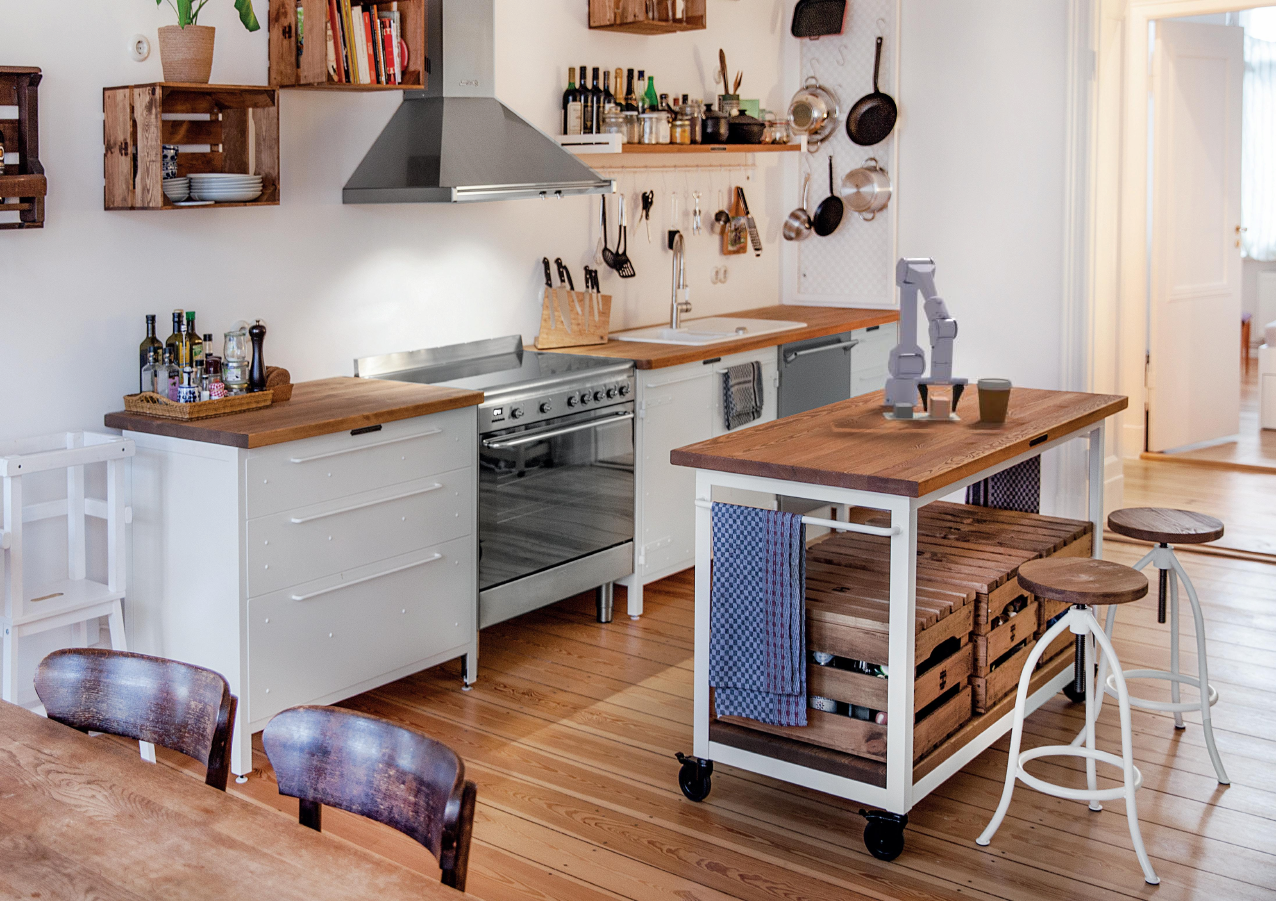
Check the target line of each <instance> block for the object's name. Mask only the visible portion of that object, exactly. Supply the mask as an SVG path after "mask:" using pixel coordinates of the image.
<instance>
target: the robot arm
mask: <svg viewBox="0 0 1276 901" xmlns="http://www.w3.org/2000/svg"><path fill="white" fill-rule="evenodd" d="M936 270H937V269H936V262H935V261H934V259H933V258H932V257H915V258H913V257H911V258H910V257H900V258H899V259H898V261H897V264H896V266H895V286H897V287H898V288H899V289H900V290H899V291H900V292H899V343H898V344H897V345H896V346H895V347H893V348H892V349H891V350H890V352H889V358H888V362H887V369H888V373H889V374H890V376H889V377H888V378H887V379H886V382H885V383H884V384H885V385H884V402H883V403H884V404H882V406H894V403H911V405H912V406H913V407H915V406H916V407H918V406H919V407H922V408H923V413H928V396H929V395H928V394H929V387H928V386H952V401H951V413H956V410H957V406H958V403H959V401H960V398H961V396H962V395H963V393H964V390H965V387H968V386H969V378H967V377H952V376H953V374H952V372H953V352H954V351H953V350H954V340H955V339H956V338H957V335H958V330H959V329H958V322H957V320H956V319H955V318H954V317H953V316H952V315H950V314H949V312H948V309H947V307H946V303H945V301H944V299H943V298H941V297H939V295H938V292H937V289H936V284H935V281H934V279H935V273H936ZM918 291H920V293H921V295H922V297H923V300H924V304H923V309H924V312H925V315H926V318H927V321H928V324H929V325H928V337H929V345H930V346H931V351H930V352H931V353H930V357H931V358H930V376H929V377H928V376H927V377H922V376H924V373H925V372H926V370H927V361H926V356H925V350H924V349H923V348H922V347H920V346H919V345H918V341H917V340H918V294H919V292H918ZM919 394H920V397H921V402H922V404H919Z"/></svg>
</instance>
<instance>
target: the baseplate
mask: <svg viewBox="0 0 1276 901" xmlns="http://www.w3.org/2000/svg"><path fill="white" fill-rule="evenodd" d="M882 415H883V416H884V418H885V419H886V420H887V421H888V420H892V421H898V420H899V421H900V420H902V421H904V420H905V421H907V420H908V421H909V420H910V421H962V419H961V418H960V417H959V416H958V415H957V414H955V412H950V419H942V418H932V417H931V416H930V415H929V412H913V418H896V417H895V416H894V414H893V412H882Z"/></svg>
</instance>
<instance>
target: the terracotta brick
mask: <svg viewBox="0 0 1276 901" xmlns="http://www.w3.org/2000/svg"><path fill="white" fill-rule="evenodd" d="M928 410H929V411H928V413H929V415H930V416H931V417H932V418H942V419H950V413H951V399H950V398H948V397H947V396H929V408H928Z"/></svg>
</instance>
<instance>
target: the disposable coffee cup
mask: <svg viewBox="0 0 1276 901" xmlns="http://www.w3.org/2000/svg"><path fill="white" fill-rule="evenodd" d="M975 385H976V388H977V392H978V393H977V396H978V408H979V420H980V421H981V422H984V423H1004V422H1006V418H1007V412H1008V406H1009V400H1010V394H1011V390H1012V387H1013V384H1012V380H1011V379H1007V378H998V377H997V378H995V377H993V378H991V377H990V378H989V377H987V378H978V379H977V383H976V384H975Z"/></svg>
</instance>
